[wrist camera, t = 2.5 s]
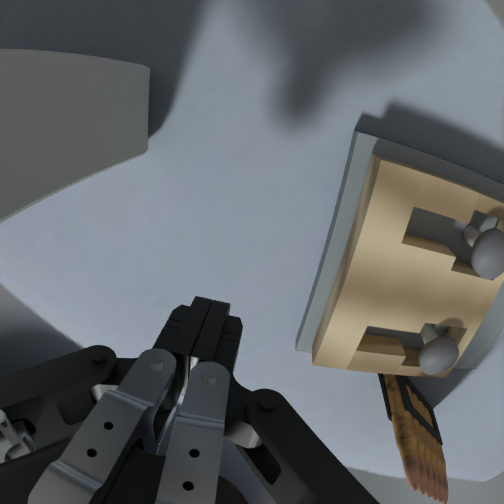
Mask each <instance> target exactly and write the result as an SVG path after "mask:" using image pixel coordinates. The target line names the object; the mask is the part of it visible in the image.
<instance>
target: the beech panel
mask: <svg viewBox="0 0 504 504" xmlns="http://www.w3.org/2000/svg"><path fill="white" fill-rule="evenodd" d="M413 207H417V208H421V209H424V210H427V211H431V212H434V213H437V214H440V215H444V216H447V217H450V218H453V219H456V220H459V221H462V222H465V223H468V224H469V223H470V220H471V217H472V214H473V211H474V210H477V211H479V212H482V213H485V214H487V215H490V216H493V217H495V218H498V219H499V222H498V225H497V227H496V228H497V229H500V230H501V231H502V232H504V201H503V200H501V199H498V198H496V197H494V196H491V195H489V194H487V193H484V192H482V191H479V190H477V189H474V188H472V187H469V186H467V185H464V184H462V183H459V182H456V181H454V180H451V179H448V178H445V177H443V176H440V175H437V174H434V173H431V172H428V171H425V170H422V169H419V168H416V167H413V166H410V165H407V164H404V163H401V162H398V161H394V160H391V159H388V158H384V157H381V156H377V155H374V154H372V155H371V159H370V163H369V167H368V171H367V175H366V179H365V183H364V187H363V191H362V194H361V198H360V202H359V205H358V209H357V212H356V216H355V219H354V223H353V226H352V229H351V233H350V236H349V239H348V243H347V246H346V249H345V252H344V255H343V259H342V262H341V265H340V268H339V271H338V274H337V277H336V280H335V283H334V286H333V289H332V292H331V295H330V298H329V300H328V303H327V306H326V309H325V312H324V315H323V317H322V320H321V323H320V326H319V328H318V331H317V334H316V336H315V339H314V342H313V344H312V363H313V365H317V366H324V367H331V368H338V369H346V370H354V371H363V372H372V373H382V374H393V375H406V376H420V377H438V378H446V377H447V376H448V374H449V373H450V371H451V370H452V368H453V367H454V366H455V364H456V363H457V361H458V360H459V358H460V357H461V355H462V354H463V352H464V350H465V349H466V347H467V346H468V344H469V343H470V341H471V339H472V338H473V336H474V334H475V333H476V331H477V329H478V328H479V326H480V324H481V323H482V321H483V319H484V317H485V315H486V314H487V312H488V310H489V308H490V306H491V304H492V303H493V301H494V299H495V297H496V295H497V293H498V291H499V289H500V287H501V285H502V283H503V281H504V272H503V273H502V274H501V275H500V276H498V277H497V278H495V279H491V280H487V279H483V278H482V277H480V276H479V274H478V273H477V272H476V271H475V270H474V269H473V267H472V265H471V264H469V263H465V262H461V261H457V260H455V259H456V257H455V255H454V254H453V253H452V252H451V251H450V250H449V249H448V248H447V247H446V246H445V244H444V243H440V242H436V241H433V240H429V239H425V238H421V237H418V236H414V235H410V234H406V233H405V231H406V228H407V225H408V222H409V219H410V216H411V213H412V210H413ZM425 323H430V324H437V325H444V326H450V328H449V330H448V332H447V333H446V335H445V336H449V337H451V338H453V339H454V341H455V343H456V345H457V347H458V349H459V356H458V359H457V360H456V362H455V363H454V364H453V365H452V366H451V367H450V368H449V369H447V370H446V371H444V372H442V373H440V374H436V375H428V374H425V373H424V372H423V371H422V370H421V367H420V364H419V361H418V355H419V352H420V351H421V350H414V349H405V348H403V346H402V344H401V341H400V339H399V338H391V337H384V336H377V335H370V334H364V332H365V330H366V328H367V326H373V327H380V328H386V329H393V330H400V331H407V332H415V333H420V331H421V330H422V328H423V326H424V324H425Z"/></svg>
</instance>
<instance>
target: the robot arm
mask: <svg viewBox="0 0 504 504" xmlns="http://www.w3.org/2000/svg"><path fill="white" fill-rule="evenodd" d="M229 311H230V303H225V302H221V301H216V300H212V299H207V298H203V297H198V296H196V297H195V298H194V300H193V302H192V304H191V306H186V305H180V306H179V307H177V308H176V309H174V310H173V311H172V313H171V315H170V317H169V319H168V320H167V322H166V324H165V326H164V327H163V329H162V331H161V333H160V335H159V337H158V338H157V340H156V342H155V344H154V346H153V348H152V349H148V350H146V351H144V352H143V353H141V355H140V356H139V357H138V358H116V354H115V352H114V351H113V350H112V349H111V348H109V347H107V346H103V345H94V346H90V347H88V348H85V349H82V350H79V351H76V352H73V353H70V354H67V355H65V356H61V357H58V358H55V359H52V360H50V361H46V362H43V363H40V364H38V365H34V366H31V367H28V368H25V369H22V370H19V371H16V372H13V373H9V374H6V375H3V376H0V504H248V502H247V501H246V499H245V497H244V496H243V494H242V493H241V492H240V491H239V489H238V488H237V487H236V486H235V485H234V484H232V483H231V482H230V481H229V480H227V479H226V478H224V477H223V476H221V475H219V467H220V459H221V451H222V443H223V437H225V438H227V439H229V440H231V441H233V442H235V443H236V447H237V449H238V450H239V452H240V453H241V455H242V456H243V458H244V459H245V461H246V462H247V463H248V465H249V466H250V468H251V469H252V471H253V472H254V473H255V475H256V476H257V478H258V479H259V480H260V482H261V483H262V485H263V486H264V487H265V489H266V490H267V491H268V492H269V494H270V495H271V497H272V498H273V499H274V501H275V502H276V503H277V504H380V503H379V502H378V501H377V500H376V499H375V498H374V497H373V496H372V495H371V494H370V493H369V492H368V491H367V490H366V489H365V488H364V487H363V486H362V485H361V484H360V483H359V482H358V481H357V480H356V478H355V477H354V476H353V475H352V474H351V473H350V472H349V471H348V470H347V469H346V468H345V467H344V466H343V464H342V463H341V462H340V461H339V460H338V459H337V458H336V457H335V456H334V455H333V453H332V452H331V451H330V450H329V449H328V448H327V447H326V446H325V445H324V443H323V442H322V441H321V440H320V439H319V438H318V437H317V435H316V434H315V433H314V432H313V431H312V430H311V429H310V427H309V426H308V425H307V424H306V423H305V422H304V420H303V419H302V418H301V417H300V416H299V415H298V413H297V412H296V411H295V410H294V409H293V407H292V406H291V405H290V404H289V403H288V401H287V400H286V399H285V398H284V397H283V396H282V395H281V394H280V393H278V392H276V391H274V390H271V389H258V390H255V391H253V392H252V391H250V390H248V389H246V388H244V387H243V386H241V385H240V384H239V383H238V382H237V381H236V380H235V378H234V376H233V371H234V367H235V362H236V358H237V354H238V349H239V344H240V339H241V334H242V329H243V325H242V322H241V319H240V318H239V317H234V316H230V315H229ZM85 389H86V390H85ZM83 390H84V391H83ZM80 391H81V392H80ZM75 393H76V394H75ZM72 394H73V395H72ZM69 395H70V396H69ZM180 395H183V396H184V399H183V403H182V407H181V411H180V414H179V415H177V417H176V420H175V424H174V428H173V432H172V436H171V440H170V444H169V448H168V452H167V456H159V455H157V450H158V446H159V444H160V441H161V439H162V437H163V435H164V433H165V431H166V429H167V427H168V425H169V423H170V420H171V419H172V416H173V414H174V412H175V410H176V404H177V402H178V399H179V396H180ZM67 396H68V397H67ZM64 397H65V398H64ZM76 431H77V433H76V434H75V436H72V437H68V438H65V439H63V440H60V441H58V442H55V443H53V444H51V445H48V446H46V447H43V448H41V449H38V450H36V451H34V450H35V447H36V446H39V445H42V444H44V443H47V442H50V441H53V440H56V439H58V438H61V437H63V436H66V435H69V434H71V433H74V432H76Z"/></svg>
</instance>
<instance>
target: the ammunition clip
mask: <svg viewBox="0 0 504 504" xmlns="http://www.w3.org/2000/svg"><path fill="white" fill-rule="evenodd" d="M378 376H379V380H380V384H381V388H382V393H383V397H384V401H385V406H386V410H387V415H388V419H389V420H391V421H392V423H393V428H394V433H395V438H396V443H397V447H398V449H399V451H400V454H401V459H402V461H403V467H404V471H405V475H406V478H407V480H408V482H409V484H410V486H411V488H412V489H413V490H414V491H415V490H417V489H418V490H419V492H420V493H421V494H424V493H425V494H426V495H427V497H432V498H433V499H434V500H436V499H437V500H438V502H442V503H443V504H446V503H447V499H448V483H447V476H446V464H445V459H444V455H443V451H442V447H441V446H442V445H443V443H442V439H441V436H440V432H439V428H438V425H437V421H436V418H435V415H434V411H433V408H432V407H431V406H430V404H429V403H428V402H427V401H426V400H425V398H424V397H423V396H422V395H421V393H420V392H419V391H418V390H417V389H416V387H415V386H414V385H413V384H412V382H411V381H410V380H409V379H408V378H407V376H406V375H393V374H382V373H378Z"/></svg>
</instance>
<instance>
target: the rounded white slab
mask: <svg viewBox="0 0 504 504" xmlns="http://www.w3.org/2000/svg"><path fill="white" fill-rule="evenodd" d="M149 83H150V68H149V67H147V66H145V65H142V64H137V63H132V62H127V61H121V60H116V59H110V58H103V57H97V56H90V55H83V54H75V53H66V52H56V51H43V50H27V49H0V223H1V222H3V221H5V220H7V219H8V218H10V217H12V216H14V215H15V214H17V213H19V212H21V211H23V210H24V209H26V208H28V207H30V206H32V205H34V204H36V203H37V202H39V201H41V200H43V199H45V198H47V197H49V196H51V195H53V194H55V193H57V192H59V191H61V190H63V189H65V188H67V187H69V186H72V185H74V184H76V183H78V182H80V181H82V180H84V179H87V178H89V177H91V176H93V175H95V174H98V173H100V172H102V171H105V170H107V169H109V168H112V167H114V166H116V165H119V164H121V163H124V162H126V161H129V160H131V159H134V158H136V157H139V156H141V155H143V154H144V153H145V152H146V151H147V150H148V109H149Z"/></svg>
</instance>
